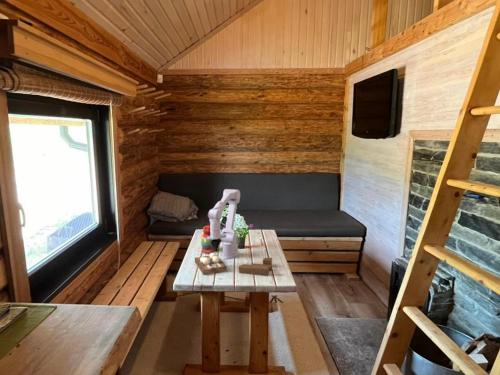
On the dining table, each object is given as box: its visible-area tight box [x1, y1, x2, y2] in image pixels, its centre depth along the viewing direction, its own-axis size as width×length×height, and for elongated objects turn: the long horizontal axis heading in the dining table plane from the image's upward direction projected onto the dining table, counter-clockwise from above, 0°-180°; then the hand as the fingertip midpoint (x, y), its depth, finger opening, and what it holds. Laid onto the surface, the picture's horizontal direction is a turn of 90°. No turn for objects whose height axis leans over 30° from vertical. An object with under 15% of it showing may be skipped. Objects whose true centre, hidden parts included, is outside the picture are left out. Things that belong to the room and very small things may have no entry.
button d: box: [213, 255, 220, 264], centre depth 194 cm, size 4×4×4 cm
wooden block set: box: [238, 257, 273, 277], centre depth 191 cm, size 17×6×18 cm
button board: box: [194, 254, 228, 276], centre depth 195 cm, size 14×20×4 cm
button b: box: [203, 258, 210, 266], centre depth 191 cm, size 4×4×4 cm
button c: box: [209, 252, 217, 260], centre depth 199 cm, size 4×4×4 cm
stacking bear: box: [200, 224, 215, 255], centre depth 219 cm, size 11×10×18 cm
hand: (215, 251), depth 193 cm, fingers closed
